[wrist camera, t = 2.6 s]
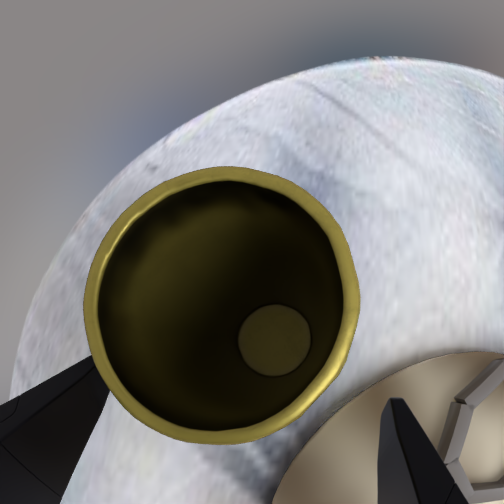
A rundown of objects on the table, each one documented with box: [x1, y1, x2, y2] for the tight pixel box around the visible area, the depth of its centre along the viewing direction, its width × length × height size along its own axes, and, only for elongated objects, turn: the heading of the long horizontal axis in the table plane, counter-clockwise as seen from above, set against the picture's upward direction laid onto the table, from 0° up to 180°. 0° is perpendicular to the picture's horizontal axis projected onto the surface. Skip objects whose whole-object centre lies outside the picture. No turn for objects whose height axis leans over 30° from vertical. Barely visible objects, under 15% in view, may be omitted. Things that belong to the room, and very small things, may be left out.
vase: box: [83, 166, 360, 445], centre depth 12 cm, size 6×6×14 cm
